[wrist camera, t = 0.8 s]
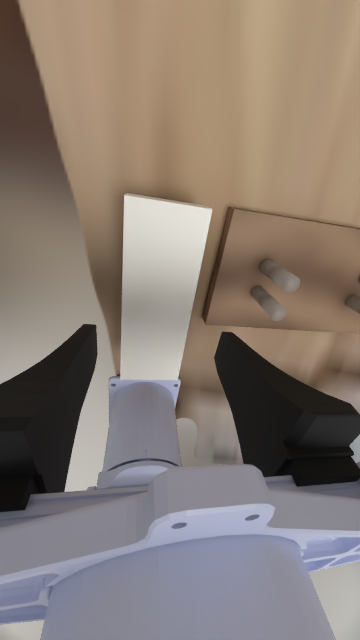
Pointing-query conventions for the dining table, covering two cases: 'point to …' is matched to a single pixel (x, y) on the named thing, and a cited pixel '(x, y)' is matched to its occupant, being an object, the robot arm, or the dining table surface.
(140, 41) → the dining table surface
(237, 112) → the dining table surface
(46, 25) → the dining table surface
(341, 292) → the peg stand
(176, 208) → the shelf board
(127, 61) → the dining table surface
